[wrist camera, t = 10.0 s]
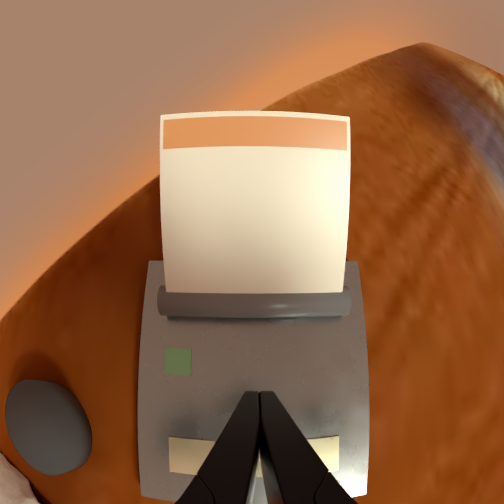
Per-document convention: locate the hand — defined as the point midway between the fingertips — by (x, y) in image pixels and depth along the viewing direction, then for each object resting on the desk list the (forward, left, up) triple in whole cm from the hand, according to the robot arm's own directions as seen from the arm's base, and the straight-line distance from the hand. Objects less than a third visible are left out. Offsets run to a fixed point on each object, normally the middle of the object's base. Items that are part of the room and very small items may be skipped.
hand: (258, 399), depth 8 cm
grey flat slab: (0, 0, -9) cm, 10 cm away
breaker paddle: (+4, -4, -7) cm, 9 cm away
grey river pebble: (+7, +14, -10) cm, 18 cm away
